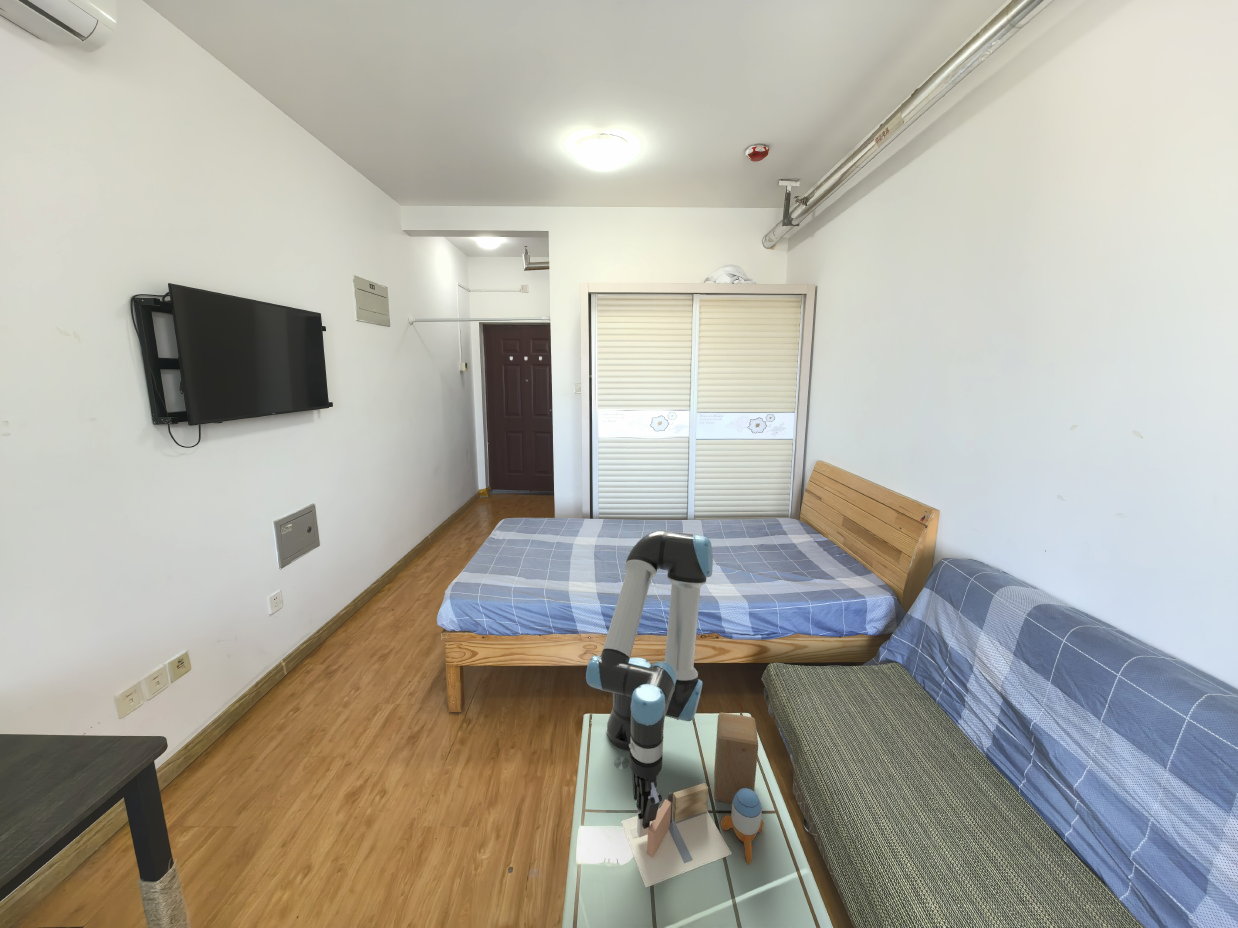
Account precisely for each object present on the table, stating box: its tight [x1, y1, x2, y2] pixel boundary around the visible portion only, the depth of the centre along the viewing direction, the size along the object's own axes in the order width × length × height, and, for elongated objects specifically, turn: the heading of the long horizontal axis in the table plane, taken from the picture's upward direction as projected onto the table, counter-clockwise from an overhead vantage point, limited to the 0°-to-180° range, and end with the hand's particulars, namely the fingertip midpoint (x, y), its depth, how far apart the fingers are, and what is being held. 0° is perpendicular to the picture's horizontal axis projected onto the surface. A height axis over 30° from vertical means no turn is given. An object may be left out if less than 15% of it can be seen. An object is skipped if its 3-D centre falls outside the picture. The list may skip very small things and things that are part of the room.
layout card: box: [620, 806, 733, 888], centre depth 112 cm, size 16×22×1 cm
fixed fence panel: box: [667, 782, 709, 823], centre depth 117 cm, size 11×2×9 cm, turn 109°
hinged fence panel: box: [647, 798, 671, 857], centre depth 111 cm, size 9×2×7 cm, turn 148°
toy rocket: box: [720, 788, 764, 865], centre depth 112 cm, size 10×11×15 cm
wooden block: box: [713, 712, 759, 805], centre depth 124 cm, size 10×10×20 cm
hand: (643, 832), depth 112 cm, fingers closed
